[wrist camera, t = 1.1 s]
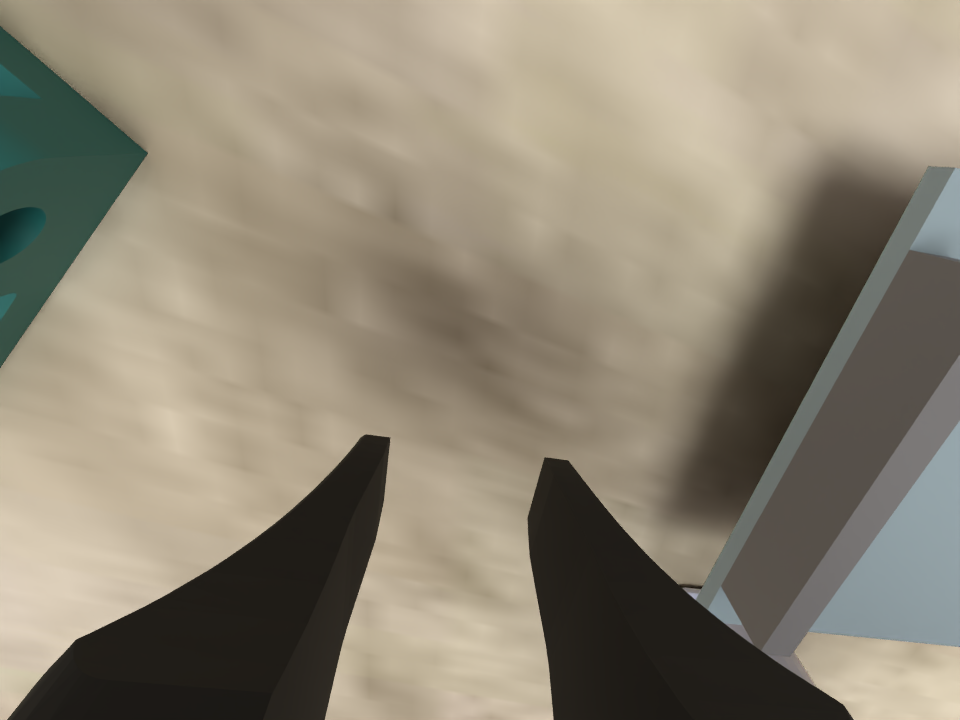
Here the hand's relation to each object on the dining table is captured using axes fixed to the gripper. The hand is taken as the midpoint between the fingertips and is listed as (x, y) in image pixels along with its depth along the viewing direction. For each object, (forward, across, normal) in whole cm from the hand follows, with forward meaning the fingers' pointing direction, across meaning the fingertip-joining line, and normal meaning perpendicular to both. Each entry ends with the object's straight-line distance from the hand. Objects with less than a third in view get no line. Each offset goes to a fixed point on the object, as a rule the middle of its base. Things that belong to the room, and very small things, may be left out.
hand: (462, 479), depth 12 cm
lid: (+5, -19, 0) cm, 20 cm away
